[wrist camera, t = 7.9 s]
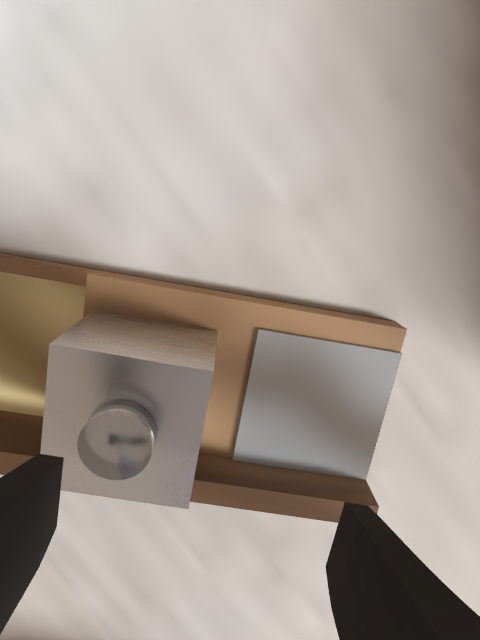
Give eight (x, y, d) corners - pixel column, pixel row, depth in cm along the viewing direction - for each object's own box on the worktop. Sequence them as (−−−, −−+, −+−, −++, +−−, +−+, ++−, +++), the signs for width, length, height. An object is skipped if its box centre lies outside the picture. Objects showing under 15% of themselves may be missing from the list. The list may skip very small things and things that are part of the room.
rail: (352, 480, 21) (372, 527, 18) (-170, 402, 20) (-244, 439, 17) (396, 321, 19) (427, 344, 16) (-180, 221, 18) (-266, 225, 15)
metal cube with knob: (198, 439, 19) (185, 530, 14) (82, 421, 19) (23, 506, 14) (218, 330, 18) (212, 384, 13) (94, 309, 18) (34, 354, 12)
